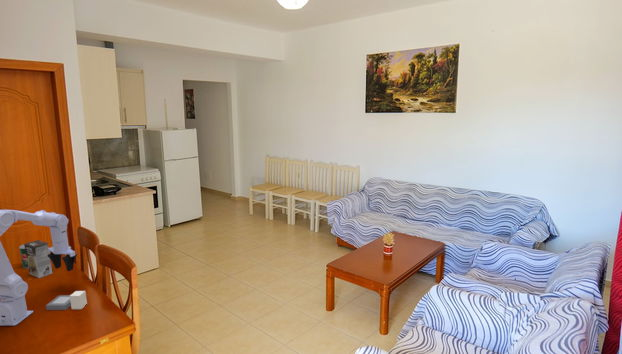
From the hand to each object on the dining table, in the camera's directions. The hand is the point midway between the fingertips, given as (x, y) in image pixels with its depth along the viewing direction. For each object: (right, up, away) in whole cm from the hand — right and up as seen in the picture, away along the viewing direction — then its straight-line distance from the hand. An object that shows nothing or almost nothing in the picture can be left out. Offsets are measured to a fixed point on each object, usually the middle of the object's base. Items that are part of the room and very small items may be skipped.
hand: (64, 269), depth 166 cm
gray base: (+7, -12, -11) cm, 18 cm away
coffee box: (-23, -7, +17) cm, 30 cm away
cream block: (+15, -13, -12) cm, 23 cm away
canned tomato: (-35, -5, +27) cm, 45 cm away
